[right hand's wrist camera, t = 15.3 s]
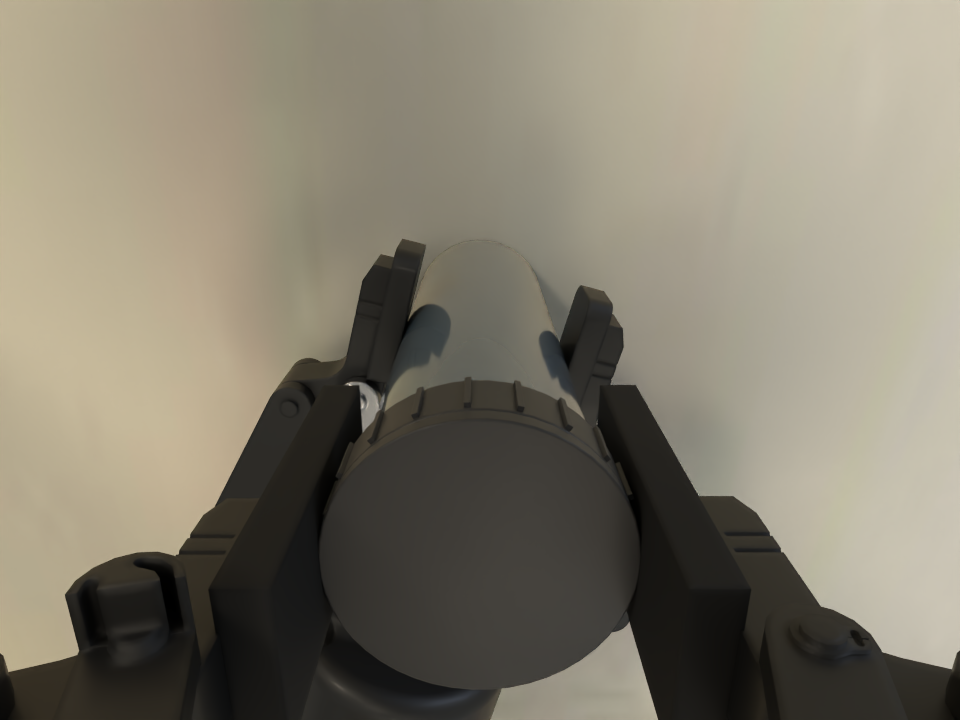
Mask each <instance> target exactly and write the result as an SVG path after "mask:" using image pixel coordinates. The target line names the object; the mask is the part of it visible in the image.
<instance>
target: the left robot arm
mask: <svg viewBox="0 0 960 720" xmlns="http://www.w3.org/2000/svg"><path fill="white" fill-rule="evenodd" d="M425 248H426V245H424V244H421V243H417V242H413V241H409V240H405V239H402V240H401V242H400V244H399V245H398V247H397V249H396V252H395V255H394V257H390V256H386V255H382V254H381V255H380V256H379V258H378V259H377V261H376V262H375V263H374V265H373V266H372V268H371V269H370V271H369V272H368V273H367V275H366V276H365V278H364V279H363V281H362V286H361V290H360V295H359V301H358V305H357V309H356V315H355V319H354V324H353V329H352V333H351V338H350V343H349V348H348V352H347V356H346V357H344V358H343V359H341V360H337V361H331V362H320V361H318V360H316V359H312V358H305V359H301V360H299V361H298V362H296V363H295V364H294V366H293V367H292V368H291V370H290V371H289V372H288V374H287V375H286V376H285V378H284V379H283V381H282V382H281V383H280V385H279V386H278V387H277V389H276V390H275V392H274V393H273V394H272V396H271V397H270V399H269V401H268V403H267V405H266V407H265V409H264V411H263V413H262V415H261V417H260V419H259V421H258V423H257V425H256V427H255V429H254V431H253V433H252V434H251V436H250V438H249V440H248V442H247V444H246V446H245V448H244V450H243V452H242V454H241V456H240V458H239V460H238V462H237V464H236V466H235V468H234V470H233V472H232V474H231V476H230V478H229V480H228V482H227V484H226V486H225V488H224V490H223V492H222V494H221V496H220V497H219V499H218V501H217V503H216V505H215V507H216V506H217V505H218V504H220V503H221V502H223V501H224V500H225V499H227V498H260V497H261V495H262V493H263V492H264V490H265V488H266V486H267V485H268V483H269V481H270V479H271V478H272V476H273V474H274V472H275V471H276V469H277V467H278V465H279V463H280V462H281V460H282V458H283V456H284V455H285V453H286V451H287V449H288V448H289V446H290V444H291V442H292V441H293V439H294V437H295V435H296V434H297V432H298V430H299V428H300V427H301V425H302V423H303V421H304V420H305V418H306V416H307V414H308V412H309V411H310V409H311V407H312V405H313V404H314V402H315V400H316V398H317V397H318V395H319V393H320V391H321V390H322V388H323V386H324V385H360V400H361V415H362V430H363V432H364V430H365V429H366V428H367V427H368V426H369V425H370V424H371V423H372V422H373V421H374V418H375V416H376V413H377V410H378V407H379V404H380V401H381V398H382V395H383V392H384V389H385V387H386V384H387V381H388V378H389V375H390V372H391V369H392V366H393V363H394V360H395V358H396V355H397V352H398V349H399V346H400V343H401V340H402V337H403V334H404V332H405V329H406V326H407V323H408V319H409V315H410V311H411V307H412V303H413V299H414V294H415V290H416V286H417V282H418V278H419V273H420V269H421V265H422V261H423V257H424V252H425ZM612 311H613V305H612V302H611V301H610V299H609V298H608V296H607V295H606V294H605V292H604V291H601V290H597V289H593V288H589V287H586V286H582V285H581V286H580V287H579V288H578V290H577V292H576V294H575V297H574V300H573V303H572V306H571V309H570V312H569V316H568V319H567V322H566V325H565V328H564V331H563V334H562V337H561V340H560V343H559V344H560V347H561V350H562V353H563V356H564V359H565V362H566V365H567V367H568V370H569V373H570V376H571V379H572V382H573V385H574V388H575V391H576V394H577V397H578V400H579V403H580V406H581V408H582V411H583V414H584V417H585V420H586V422H587V423H589V424H590V425H591V426H592V427H593V428H594V427H595V426H597V425H596V422H597V419H598V409H599V394H600V385H610V383H611V379H612V377H613V375H614V372H615V369H616V365H617V364H618V361H619V358H620V355H621V353H622V350H623V347H624V346H623V328H622V327H621V325H620V324H619V322H618V321H617V319H616V318H615V316H614V315H613V314H612ZM628 623H629V618H628V615H627V611H626V612H625V614H624V616H623V617H622V619H621V621H620V622H619V624H618V625H617V626H616V627H615V629H614V630H613V631H612V632H616V631H619V630H621V629H623V628H624V627H625V626H626V625H627V624H628ZM501 689H502V688H499V689H473V690H471V689H461V688H451V687H446V686H441V685H436V684H432V683H428V682H425V681H422V680H419V679H415V678H413V677H411V676H408V675H406V674H404V673H401V672H399V671H397V670H395V669H393V668H391V667H390V666H388V665H386V664H384V663H383V662H381V661H380V660H378V659H377V658H375V657H374V656H373V655H371V654H370V653H369V652H367V651H366V650H365V649H364V648H363V647H362V646H361V645H360V644H358V643H357V642H356V641H355V640H354V639H353V638H352V637H351V635H350V634H349V633H348V632H347V631H346V629H345V628H344V627H343V626H342V624H341V623H340V621H339V620H338V618H337V617H336V615H335V613H334V612H333V613H332V617H331V620H330V624H329V627H328V630H327V634H326V637H325V641H324V644H323V647H322V651H321V654H320V658H319V661H318V664H317V668H316V671H315V675H314V678H313V682H312V685H311V688H310V692H309V695H308V699H307V702H306V705H305V709H304V712H303V716H302V719H301V720H490V719H491V716H492V714H493V711H494V708H495V705H496V703H497V700H498V697H499V694H500V692H501Z"/></svg>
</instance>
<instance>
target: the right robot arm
mask: <svg viewBox="0 0 960 720" xmlns="http://www.w3.org/2000/svg"><path fill="white" fill-rule="evenodd" d="M597 427H598V428H599V429H600V431H601V433H602V436H603V439H604V441H605V444H606V447H607V448H608V450H609V452H610V453H611V455H612V457H613V460H614V462H615V463H618V462H620V464H621V466H622V469H623V471H624V474H625V476H626V479H627V481H628V484H629V486H630V489H631V491H632V494H633V497H634V499H633V500H630V504H631V506H632V509H633V511H634V514H635V517H636V519H637V524H638V528H639V532H640V537H641V557H640V567H639V577H638V583H637V587H636V591H635V593H634V595H633V598H632V600H631V603H630V605H629V607H628V609H627V615H628V618H629V621H630V625H631V628H632V632H633V635H634V639H635V642H636V645H637V649H638V652H639V656H640V659H641V662H642V666H643V669H644V673H645V676H646V680H647V683H648V686H649V690H650V693H651V697H652V700H653V703H654V707H655V710H656V714H657V717H658V720H960V651H959V652H958V653H957V655H956V658H955V661H954V664H953V668H952V669H947V668H943V667H939V666H934V665H930V664H925V663H921V662H917V661H912V660H908V659H903V658H899V657H896V656H893V655H889V654H886V653H883V652H882V651H881V649H880V648H879V646H878V645H877V643H876V642H875V640H874V638H873V637H872V635H871V634H870V633H869V632H867V631H866V630H865V629H864V628H862V627H861V626H860V625H859V624H858V623H856V622H855V621H854V620H852V619H850V618H848V617H846V616H844V615H842V614H840V613H838V612H836V611H834V610H831V609H828V608H824V607H821V606H820V605H819V603H818V602H817V600H816V599H815V597H814V596H813V594H812V593H811V592H810V590H809V589H808V587H807V586H806V584H805V583H804V581H803V580H802V579H801V577H800V576H799V574H798V573H797V571H796V570H795V568H794V567H793V565H792V564H791V563H790V561H789V560H788V558H787V557H786V555H785V554H784V552H781V548H780V547H779V545H778V544H777V542H776V541H775V539H774V538H773V536H770V532H769V531H768V529H767V528H766V526H765V525H764V523H763V522H762V520H761V519H760V518H759V516H758V515H757V513H756V512H754V511H753V510H752V509H750V508H749V507H747V506H746V505H745V504H743V503H742V502H740V501H739V500H737V499H736V498H735V497H733V496H698V494H697V492H696V491H695V489H694V487H693V485H692V484H691V482H690V480H689V478H688V477H687V475H686V473H685V471H684V470H683V468H682V466H681V464H680V462H679V461H678V459H677V457H676V455H675V454H674V452H673V450H672V448H671V447H670V445H669V443H668V441H667V440H666V438H665V436H664V434H663V433H662V431H661V429H660V427H659V426H658V424H657V422H656V420H655V419H654V417H653V415H652V413H651V411H650V410H649V408H648V406H647V404H646V403H645V401H644V399H643V397H642V396H641V394H640V392H639V390H638V389H637V387H636V385H600V394H599V409H598V424H597ZM362 433H363V430H362V415H361V400H360V385H324V386H323V388H322V390H321V391H320V393H319V395H318V397H317V398H316V400H315V402H314V404H313V405H312V407H311V409H310V411H309V412H308V414H307V416H306V418H305V420H304V421H303V423H302V425H301V427H300V428H299V430H298V432H297V434H296V435H295V437H294V439H293V441H292V442H291V444H290V446H289V448H288V449H287V451H286V453H285V455H284V456H283V458H282V460H281V462H280V463H279V465H278V467H277V469H276V471H275V472H274V474H273V476H272V478H271V479H270V481H269V483H268V485H267V486H266V488H265V490H264V492H263V493H262V495H261V497H260V498H227V499H225V500H224V501H223V502H221V503H220V504H218V505H217V506H216V507H214V508H213V509H211V510H210V511H209V512H207V513H206V514H204V515H203V517H202V518H201V520H200V521H199V522H198V524H197V525H196V527H195V528H194V530H193V531H192V533H191V534H190V538H188V539H187V540H186V541H185V543H184V544H183V546H182V547H181V549H180V550H179V555H176V556H173V555H169V554H165V553H161V552H141V553H134V554H130V555H126V556H122V557H118V558H114V559H112V560H110V561H108V562H105V563H103V564H101V565H99V566H96V567H94V568H92V569H91V570H90V571H88V572H87V573H86V574H84V575H83V576H81V577H80V578H79V579H77V580H76V581H75V582H74V584H73V585H72V586H71V587H70V589H69V590H68V591H67V593H66V594H65V597H66V601H67V605H68V609H69V613H70V617H71V620H72V624H73V628H74V632H75V636H76V640H77V643H78V647H79V652H78V655H77V656H73V657H70V658H67V659H63V660H60V661H56V662H51V663H47V664H42V665H38V666H34V667H29V668H25V669H21V670H16V671H12V672H8V669H7V666H6V663H5V660H4V657H3V655H2V654H0V720H301V719H302V716H303V712H304V709H305V705H306V702H307V699H308V695H309V692H310V688H311V685H312V682H313V678H314V675H315V671H316V668H317V664H318V661H319V658H320V654H321V651H322V647H323V644H324V641H325V637H326V634H327V630H328V627H329V624H330V620H331V617H332V613H333V610H332V608H331V606H330V604H329V601H328V599H327V597H326V595H325V592H324V588H323V585H322V581H321V572H320V562H319V548H318V542H319V535H320V530H321V525H322V521H323V511H324V509H325V506H326V503H327V501H328V498H329V496H330V493H331V491H332V488H333V486H334V483H335V481H338V478H336V474H337V472H338V469H339V467H340V464H341V462H342V459H343V457H344V454H345V452H346V449H347V447H348V445H349V443H350V442H352V443H354V444H355V442H356V441H357V439H358V438H359V437H360V436H361V434H362Z"/></svg>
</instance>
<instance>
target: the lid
mask: <svg viewBox="0 0 960 720" xmlns="http://www.w3.org/2000/svg"><path fill="white" fill-rule="evenodd" d="M336 478H338V481H335V483H334V486H333V488H332V491H331V493H330V496H329V498H328V501H327V503H326V506H325V509H324V511H323V521H322V525H321V530H320V535H319V542H318V548H319V562H320V572H321V581H322V585H323V588H324V592H325V595H326V597H327V599H328V601H329V604H330V606H331V608H332V610H333V612H334V613H335V615H336V617H337V618H338V620H339V621H340V623H341V624H342V626H343V627H344V628H345V629H346V631H347V632H348V633H349V634H350V635H351V637H352V638H353V639H354V640H355V641H356V642H357V643H358V644H360V645H361V646H362V647H363V648H364V649H365V650H366V651H367V652H369V653H370V654H371V655H373V656H374V657H375V658H377V659H378V660H380V661H381V662H383V663H384V664H386V665H388V666H390V667H391V668H393V669H395V670H397V671H399V672H401V673H404V674H406V675H408V676H411V677H413V678H415V679H419V680H422V681H425V682H428V683H432V684H436V685H441V686H446V687H451V688H461V689H471V690H473V689H499V688H508V687H514V686H519V685H523V684H528V683H531V682H534V681H538V680H541V679H544V678H547V677H549V676H551V675H554V674H556V673H558V672H560V671H563V670H565V669H566V668H568V667H570V666H572V665H573V664H575V663H577V662H578V661H580V660H581V659H583V658H584V657H585V656H587V655H588V654H589V653H591V652H592V651H593V650H595V649H596V648H597V647H598V646H599V645H600V644H601V643H602V642H603V641H604V640H605V639H606V638H607V637H608V636H609V635H610V634H611V632H612V631H613V630H614V629H615V627H616V626H617V625H618V624H619V622H620V621H621V619H622V617H623V616H624V614H625V612H626V611H627V609H628V607H629V605H630V603H631V600H632V598H633V595H634V593H635V591H636V587H637V583H638V577H639V567H640V557H641V537H640V532H639V528H638V524H637V519H636V517H635V514H634V511H633V509H632V506H631V504H630V500H633V499H634V497H633V494H632V491H631V489H630V486H629V484H628V481H627V479H626V476H625V474H624V471H623V469H622V466H621V464H620V462H618V463H615V462H614V460H613V457H612V455H611V453H610V452H609V450H608V448H607V447H606V444H605V441H604V439H603V436H602V433H601V431H600V429H599V428H598V427H597V426H595V427H594V428H593V427H592V426H591V425H590V424H589V423H587V422H586V421H585V420H584V419H583V418H582V417H581V416H580V415H579V414H578V413H576V412H575V411H574V410H572V409H571V408H569V407H568V406H567V404H566V400H565V399H563V398H561V397H560V398H559V400H556V399H554V398H553V397H551V396H549V395H547V394H545V393H542V392H539V391H537V390H534V389H531V388H529V387H525V386H521V381H517V380H515V381H514V384H513V383H508V382H499V381H491V380H472V379H471V377H465V381H460V382H452V383H447V384H443V385H439V386H435V387H431V388H428V389H425V390H424V388H423V386H422V387H419V388H417V391H416V393H415V394H413V395H410V396H409V397H407V398H405V399H403V400H401V401H400V402H398V403H396V404H394V405H393V406H391V407H390V408H389V409H387V410H386V411H385V412H383V411H382V410H381V409H380V410H379V411H378V412H377V413H376V416H375V418H374V421H373V422H372V423H371V424H370V425H369V426H368V427H367V428H366V429H365V430H364V432H363V433H362V434H361V436H360V437H359V438H358V439H357V441H356V442H355V444H354V443H352V442H350V443H349V445H348V447H347V449H346V452H345V454H344V457H343V459H342V462H341V464H340V467H339V469H338V472H337V474H336Z"/></svg>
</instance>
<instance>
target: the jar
mask: <svg viewBox="0 0 960 720" xmlns="http://www.w3.org/2000/svg"><path fill="white" fill-rule="evenodd" d="M465 377H471V379H472V380H491V381H499V382H508V383H513V384H514V381H515V380H517V381H521V386H525V387H529V388H531V389H534V390H537V391H539V392H542V393H545V394H547V395H549V396H551V397H553V398H554V399H556V400H559V398H560V397H561V398H563V399H565V400H566V404H567V406H568V407H569V408H571V409H572V410H574V411H575V412H576V413H578V414H579V415H580V416H581V417H582V418H583V419H584V420H585V417H584V414H583V411H582V408H581V406H580V403H579V400H578V397H577V394H576V391H575V388H574V385H573V382H572V379H571V376H570V373H569V370H568V367H567V365H566V362H565V359H564V356H563V353H562V350H561V347H560V344H559V341H558V338H557V335H556V332H555V329H554V327H553V324H552V321H551V318H550V315H549V312H548V309H547V306H546V303H545V300H544V297H543V294H542V291H541V288H540V286H539V283H538V280H537V277H536V275H535V273H534V271H533V269H532V268H531V266H530V265H529V263H528V262H527V261H526V260H525V259H524V258H523V257H522V256H521V255H520V254H519V253H517V252H516V251H515V250H513V249H511V248H510V247H508V246H505V245H503V244H501V243H497V242H494V241H488V240H472V241H467V242H462V243H459V244H457V245H454V246H452V247H450V248H448V249H447V250H445V251H444V252H443V253H441V254H440V255H439V256H438V257H437V258H436V259H435V260H434V261H433V262H432V263H431V265H430V266H429V267H428V269H427V271H426V272H425V275H424V277H423V279H422V282H421V285H420V288H419V291H418V294H417V296H416V299H415V302H414V305H413V308H412V311H411V314H410V317H409V320H408V323H407V326H406V329H405V332H404V334H403V337H402V340H401V343H400V346H399V349H398V352H397V355H396V358H395V360H394V363H393V366H392V369H391V372H390V375H389V378H388V381H387V384H386V387H385V389H384V392H383V395H382V398H381V401H380V404H379V407H378V410H377V412H378V411H379V410H380V409H381V410H382V411H383V412H385V411H386V410H387V409H389V408H390V407H391V406H393V405H394V404H396V403H398V402H400V401H401V400H403V399H405V398H407V397H409V396H410V395H413V394H415V393H416V391H417V388H419V387H422V386H423V388H424V390H425V389H428V388H431V387H435V386H439V385H443V384H447V383H452V382H460V381H465ZM585 421H586V420H585Z"/></svg>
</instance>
